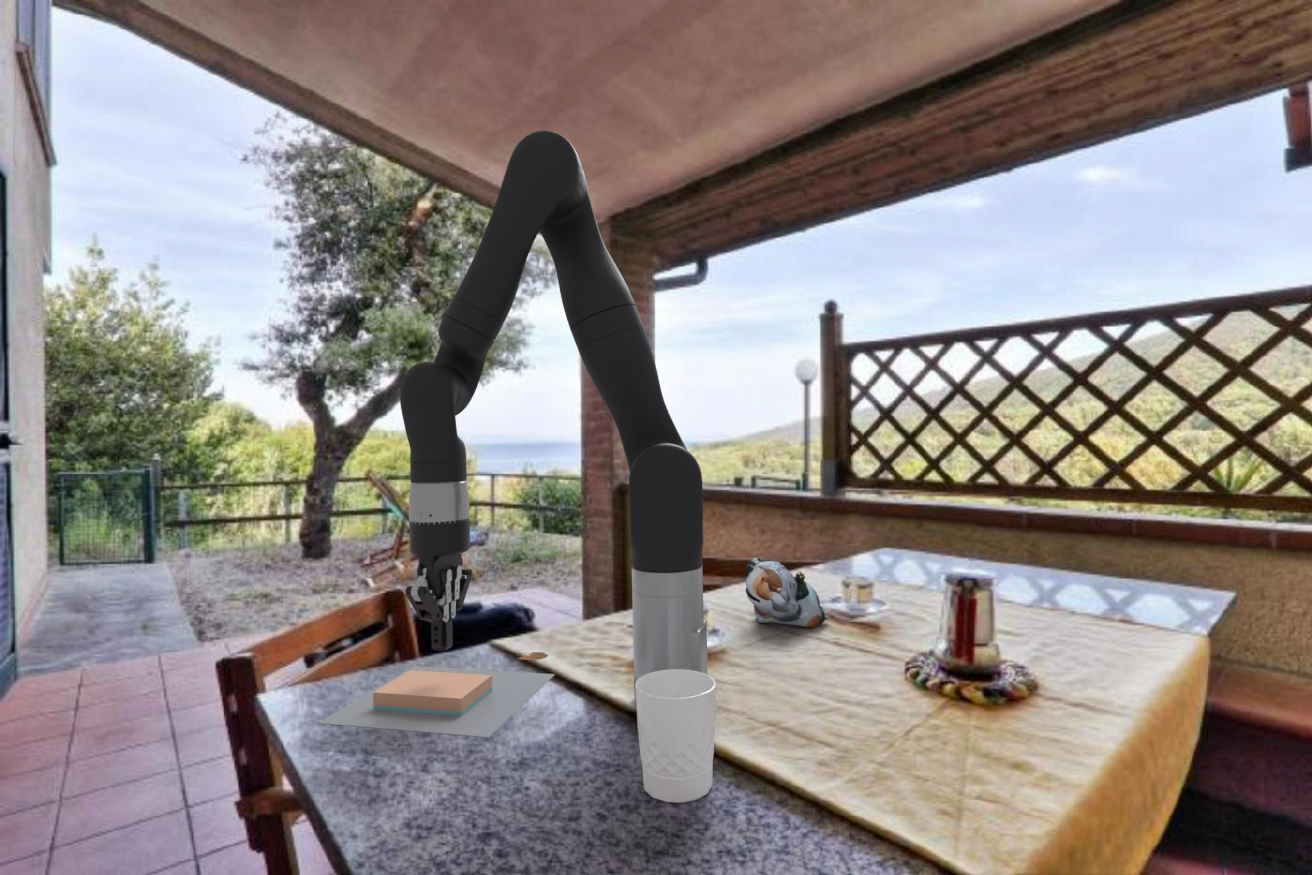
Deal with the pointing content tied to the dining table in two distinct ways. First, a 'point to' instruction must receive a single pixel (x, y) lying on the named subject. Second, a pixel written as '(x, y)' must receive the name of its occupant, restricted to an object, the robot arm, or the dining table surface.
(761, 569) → the lucky cat figurine
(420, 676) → the tile
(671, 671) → the white cup
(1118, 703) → the dining table surface
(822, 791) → the dining table surface
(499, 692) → the board
